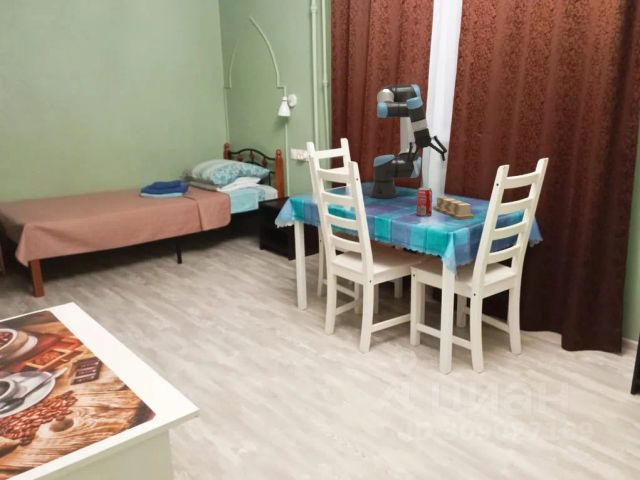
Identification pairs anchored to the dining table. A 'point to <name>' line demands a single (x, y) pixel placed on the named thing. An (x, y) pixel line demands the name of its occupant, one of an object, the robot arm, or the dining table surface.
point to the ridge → (453, 208)
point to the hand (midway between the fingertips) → (430, 170)
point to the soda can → (424, 202)
